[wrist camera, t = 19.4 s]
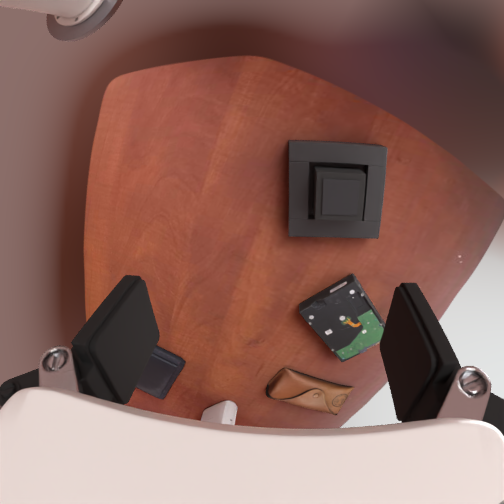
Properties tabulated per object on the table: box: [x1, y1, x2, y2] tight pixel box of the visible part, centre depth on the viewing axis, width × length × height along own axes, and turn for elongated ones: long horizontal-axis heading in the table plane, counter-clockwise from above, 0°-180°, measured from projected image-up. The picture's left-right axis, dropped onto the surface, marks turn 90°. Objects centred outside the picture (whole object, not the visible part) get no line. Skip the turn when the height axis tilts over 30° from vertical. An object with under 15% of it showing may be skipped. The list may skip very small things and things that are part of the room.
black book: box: [136, 346, 185, 399], centre depth 59 cm, size 20×2×15 cm
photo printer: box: [201, 400, 237, 425], centre depth 59 cm, size 10×4×12 cm, turn 136°
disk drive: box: [299, 274, 385, 362], centre depth 46 cm, size 10×3×15 cm
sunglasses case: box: [266, 368, 354, 415], centre depth 55 cm, size 18×7×7 cm, turn 69°
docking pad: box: [289, 140, 387, 239], centre depth 37 cm, size 12×12×3 cm
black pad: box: [313, 166, 366, 221], centre depth 35 cm, size 6×6×4 cm
